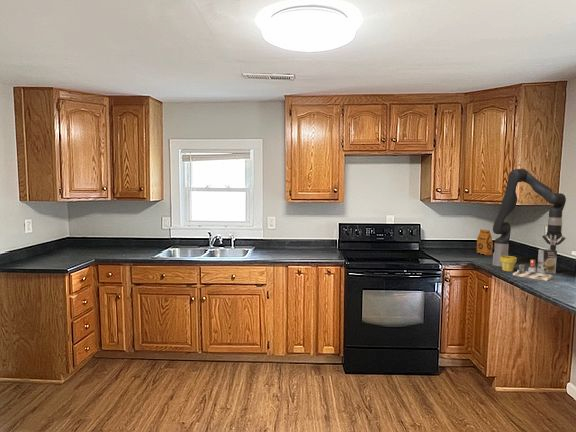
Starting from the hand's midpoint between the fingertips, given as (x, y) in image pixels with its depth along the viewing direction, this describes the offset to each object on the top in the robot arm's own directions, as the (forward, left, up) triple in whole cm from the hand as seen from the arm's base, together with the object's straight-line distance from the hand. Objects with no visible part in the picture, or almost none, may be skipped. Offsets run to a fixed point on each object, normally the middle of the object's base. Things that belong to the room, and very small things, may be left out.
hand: (552, 250), depth 252 cm
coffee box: (-8, +19, -19) cm, 28 cm away
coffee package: (-67, +62, -19) cm, 93 cm away
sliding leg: (-11, -2, -17) cm, 20 cm away
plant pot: (-28, +5, -19) cm, 34 cm away
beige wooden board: (-10, -3, -18) cm, 21 cm away
